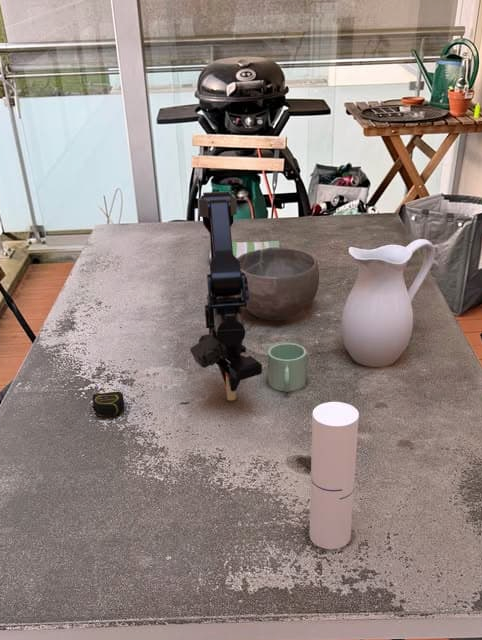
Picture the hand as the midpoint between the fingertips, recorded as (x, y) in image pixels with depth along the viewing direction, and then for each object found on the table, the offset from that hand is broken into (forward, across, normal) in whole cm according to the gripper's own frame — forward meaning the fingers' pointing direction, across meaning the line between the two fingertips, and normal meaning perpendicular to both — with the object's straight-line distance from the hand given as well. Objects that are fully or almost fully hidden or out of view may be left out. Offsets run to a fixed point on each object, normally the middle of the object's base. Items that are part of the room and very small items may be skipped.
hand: (230, 388), depth 165 cm
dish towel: (+3, -80, +49) cm, 93 cm away
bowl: (+3, -35, +34) cm, 49 cm away
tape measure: (+3, -11, -26) cm, 28 cm away
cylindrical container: (+3, +50, -8) cm, 50 cm away
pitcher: (+3, +1, +43) cm, 44 cm away
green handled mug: (+3, +1, +14) cm, 15 cm away
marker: (+2, 0, 0) cm, 2 cm away
